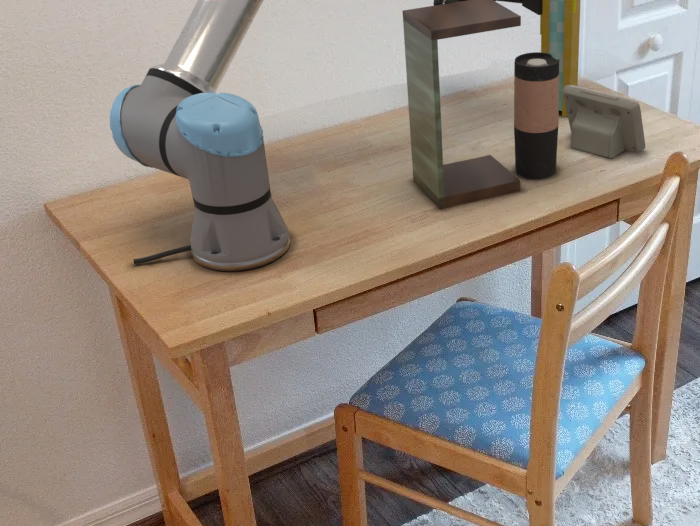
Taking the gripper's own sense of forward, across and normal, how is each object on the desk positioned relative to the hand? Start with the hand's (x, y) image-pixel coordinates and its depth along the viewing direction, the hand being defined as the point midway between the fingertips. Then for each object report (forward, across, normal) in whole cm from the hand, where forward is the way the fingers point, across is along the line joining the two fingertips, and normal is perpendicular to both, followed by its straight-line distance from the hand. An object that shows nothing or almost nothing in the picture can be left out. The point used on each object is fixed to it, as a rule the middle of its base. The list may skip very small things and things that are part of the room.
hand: (505, 12), depth 173 cm
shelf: (+12, +14, -24) cm, 30 cm away
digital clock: (+8, -16, -25) cm, 31 cm away
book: (-16, -20, -25) cm, 36 cm away
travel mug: (+12, 0, -25) cm, 28 cm away
